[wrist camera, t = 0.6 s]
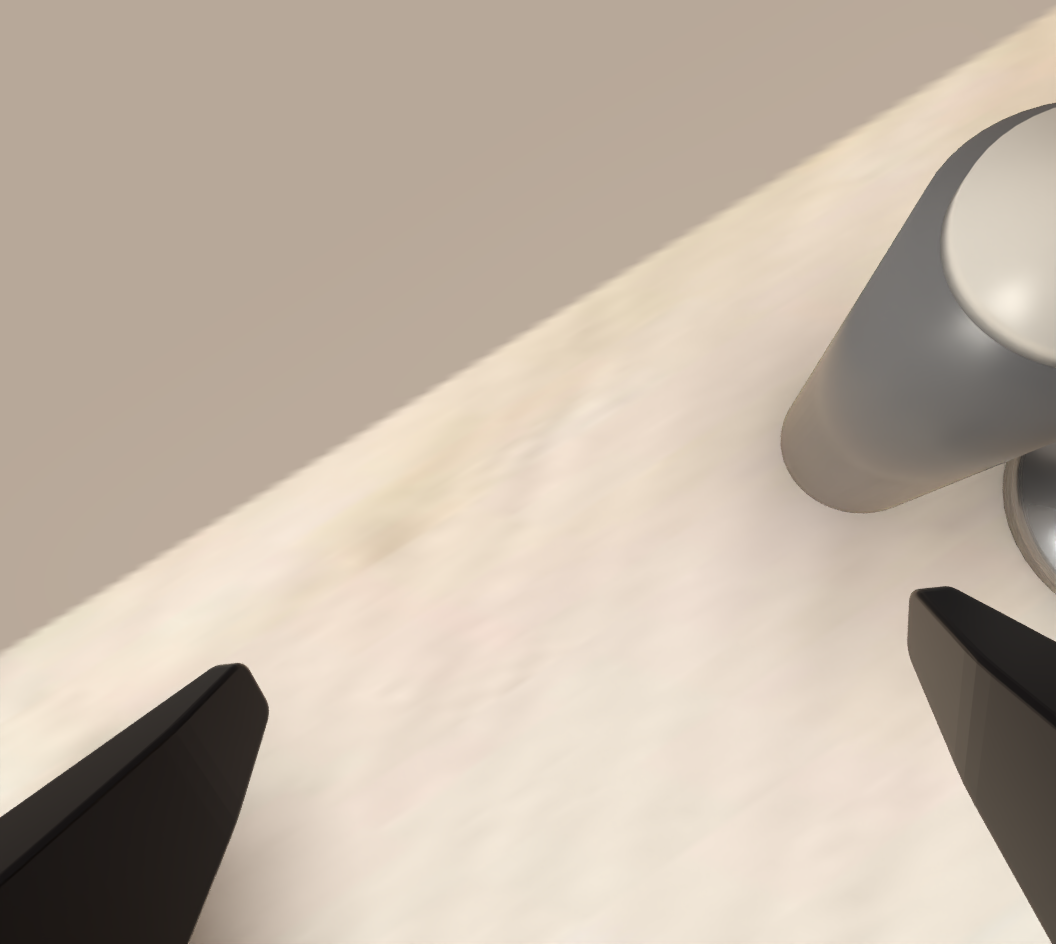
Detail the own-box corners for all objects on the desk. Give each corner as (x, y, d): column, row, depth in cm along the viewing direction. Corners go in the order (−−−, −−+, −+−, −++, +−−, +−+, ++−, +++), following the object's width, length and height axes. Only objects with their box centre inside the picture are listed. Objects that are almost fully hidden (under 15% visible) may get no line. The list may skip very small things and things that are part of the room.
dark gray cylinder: (934, 521, 20) (1350, 401, 8) (775, 505, 21) (917, 378, 9) (940, 363, 21) (1322, 29, 9) (786, 356, 22) (929, 53, 10)
